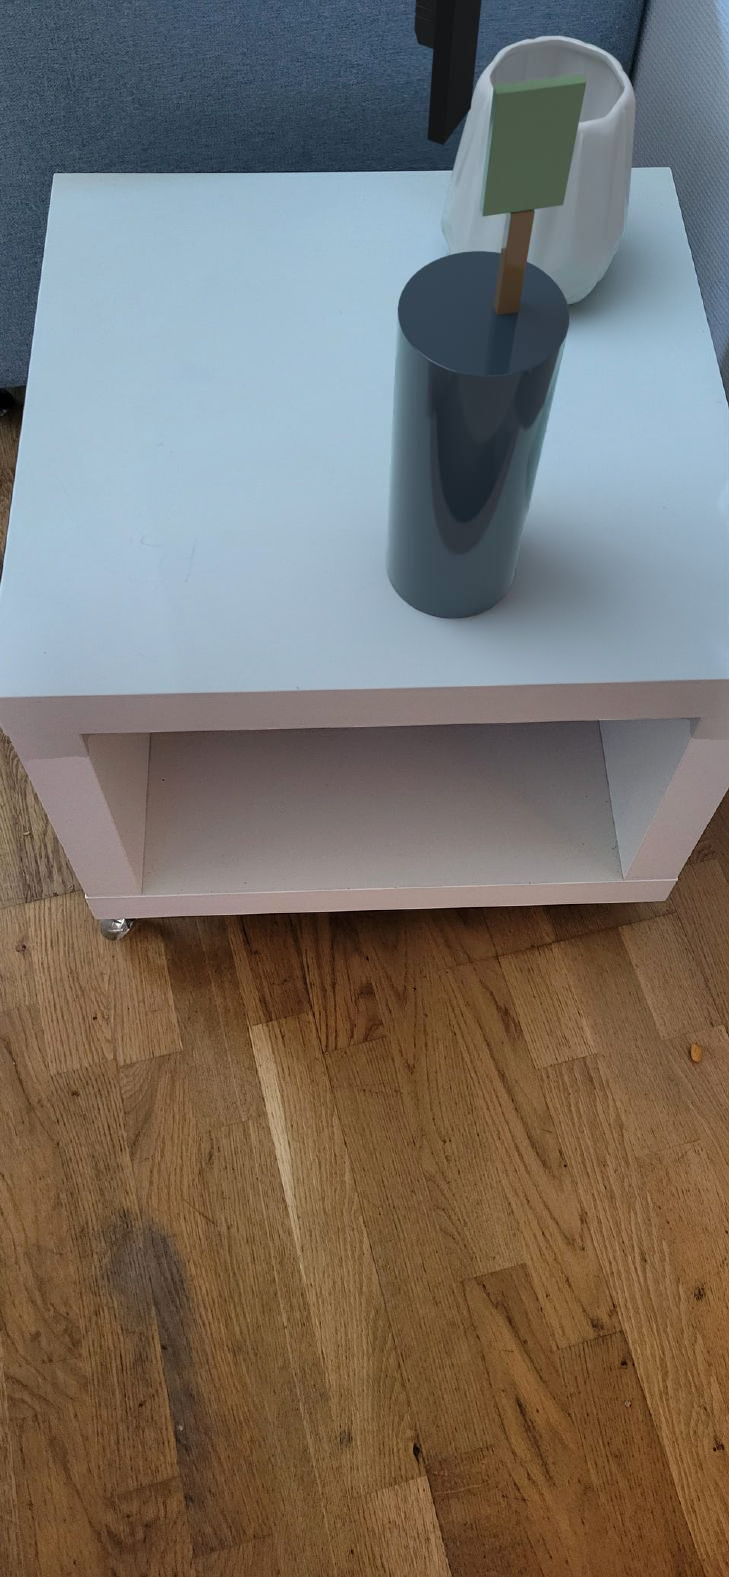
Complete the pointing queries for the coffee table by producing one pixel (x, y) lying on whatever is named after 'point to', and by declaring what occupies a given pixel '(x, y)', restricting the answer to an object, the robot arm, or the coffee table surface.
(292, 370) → the coffee table surface
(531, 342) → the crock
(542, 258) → the vase
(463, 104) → the robot arm
